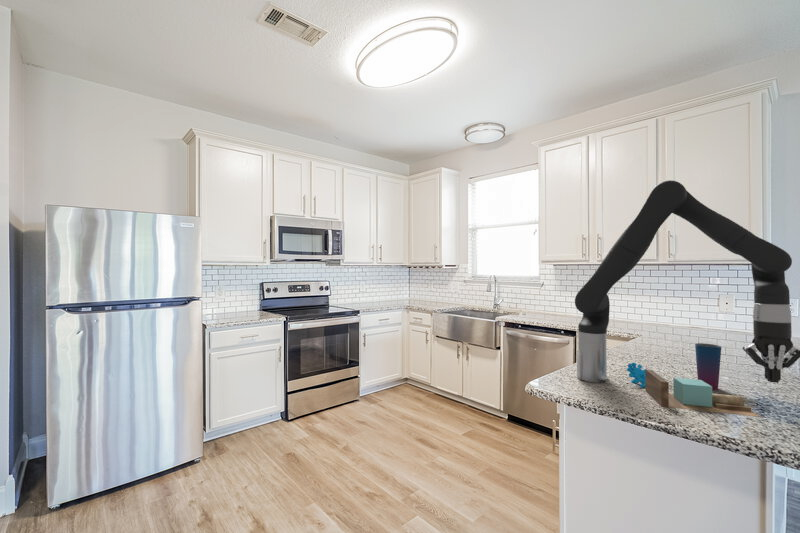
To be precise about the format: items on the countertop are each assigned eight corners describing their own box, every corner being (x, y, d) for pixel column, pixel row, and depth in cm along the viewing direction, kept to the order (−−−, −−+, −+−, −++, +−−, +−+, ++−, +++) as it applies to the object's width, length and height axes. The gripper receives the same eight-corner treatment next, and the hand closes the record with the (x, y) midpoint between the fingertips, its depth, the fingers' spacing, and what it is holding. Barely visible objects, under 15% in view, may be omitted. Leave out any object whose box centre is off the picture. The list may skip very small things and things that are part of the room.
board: (661, 409, 105) (661, 381, 105) (645, 393, 118) (645, 369, 119) (762, 420, 98) (761, 390, 98) (733, 402, 111) (733, 376, 111)
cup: (726, 394, 119) (726, 347, 119) (702, 392, 120) (702, 346, 121) (713, 387, 126) (713, 343, 126) (690, 386, 127) (690, 342, 127)
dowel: (710, 404, 106) (709, 393, 107) (706, 403, 109) (704, 392, 110) (745, 407, 104) (743, 396, 104) (739, 406, 106) (737, 396, 107)
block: (683, 404, 106) (683, 384, 106) (673, 396, 113) (673, 377, 113) (712, 407, 104) (712, 386, 104) (700, 399, 111) (700, 379, 111)
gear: (640, 387, 120) (624, 360, 127) (627, 395, 124) (612, 369, 131) (665, 389, 123) (648, 362, 130) (652, 397, 127) (636, 371, 134)
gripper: (750, 320, 102) (751, 383, 101) (812, 322, 97) (813, 388, 97) (735, 317, 109) (736, 376, 108) (792, 319, 105) (793, 380, 104)
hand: (772, 381), depth 103 cm, fingers closed
